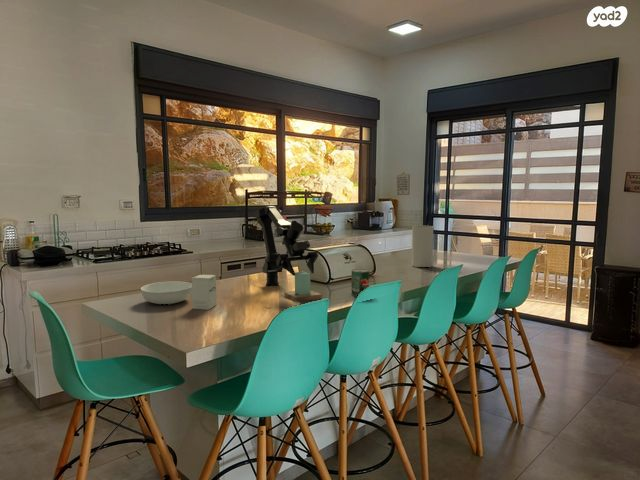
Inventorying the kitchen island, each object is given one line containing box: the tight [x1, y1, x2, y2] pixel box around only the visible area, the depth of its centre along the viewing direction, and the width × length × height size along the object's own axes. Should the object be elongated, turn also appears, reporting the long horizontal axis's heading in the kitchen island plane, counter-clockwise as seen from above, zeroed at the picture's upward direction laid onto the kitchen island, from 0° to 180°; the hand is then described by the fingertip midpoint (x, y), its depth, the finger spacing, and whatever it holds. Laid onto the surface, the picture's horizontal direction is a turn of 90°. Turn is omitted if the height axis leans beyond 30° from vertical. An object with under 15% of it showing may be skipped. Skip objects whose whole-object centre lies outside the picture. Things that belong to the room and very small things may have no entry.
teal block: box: [294, 271, 311, 295], centre depth 195 cm, size 5×5×9 cm
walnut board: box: [284, 289, 323, 303], centre depth 196 cm, size 12×12×2 cm
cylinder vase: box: [411, 224, 434, 268], centre depth 276 cm, size 12×12×25 cm
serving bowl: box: [140, 280, 192, 305], centre depth 188 cm, size 21×21×7 cm
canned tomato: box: [351, 268, 370, 297], centre depth 201 cm, size 8×8×11 cm
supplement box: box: [191, 274, 217, 311], centre depth 179 cm, size 7×7×13 cm
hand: (303, 274), depth 194 cm, fingers open, 9 cm apart
